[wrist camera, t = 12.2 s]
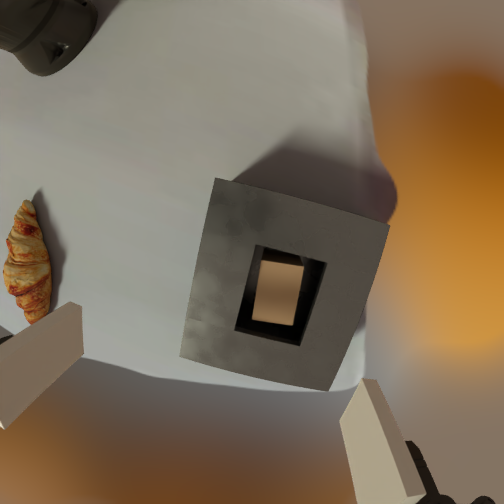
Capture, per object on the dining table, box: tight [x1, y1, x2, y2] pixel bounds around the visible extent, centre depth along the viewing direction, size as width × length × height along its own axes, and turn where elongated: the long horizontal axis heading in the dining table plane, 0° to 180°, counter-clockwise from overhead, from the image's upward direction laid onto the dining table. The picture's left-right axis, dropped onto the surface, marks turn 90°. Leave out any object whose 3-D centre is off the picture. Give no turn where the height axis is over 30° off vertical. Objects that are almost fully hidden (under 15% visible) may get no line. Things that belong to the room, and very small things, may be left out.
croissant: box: [3, 200, 52, 325], centre depth 34 cm, size 21×10×8 cm, turn 179°
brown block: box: [252, 249, 304, 325], centre depth 30 cm, size 6×4×6 cm, turn 172°
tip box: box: [180, 178, 390, 391], centre depth 30 cm, size 18×16×8 cm
